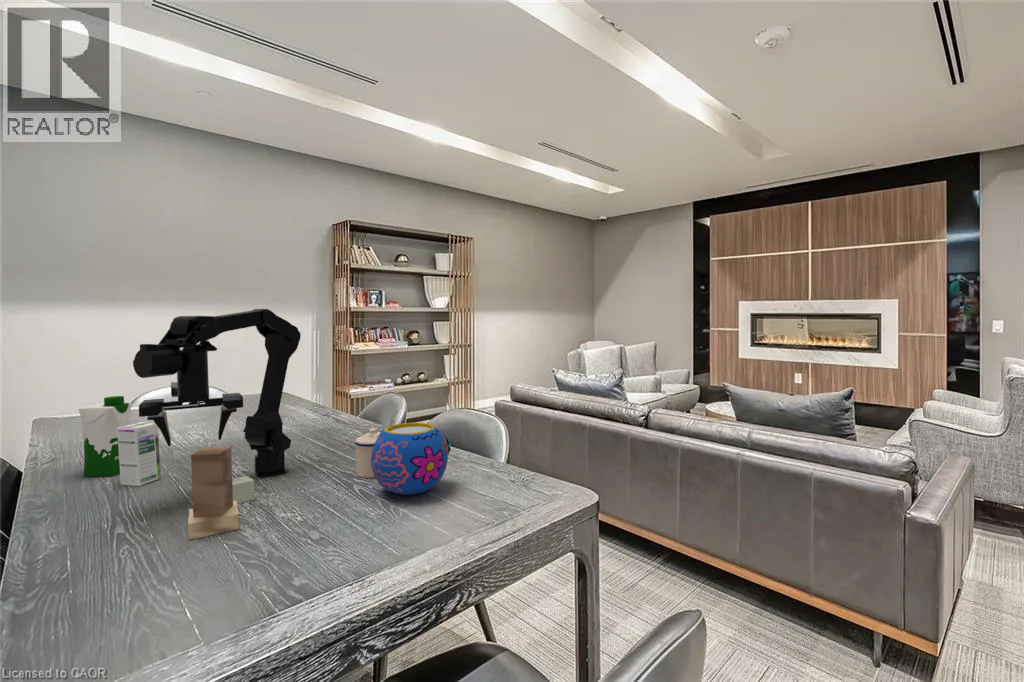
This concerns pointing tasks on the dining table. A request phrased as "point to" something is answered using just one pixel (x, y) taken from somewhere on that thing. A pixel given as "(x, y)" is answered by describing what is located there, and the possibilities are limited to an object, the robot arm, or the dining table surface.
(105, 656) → the dining table surface
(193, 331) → the robot arm
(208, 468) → the walnut block
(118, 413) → the milk carton
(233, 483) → the sage cube
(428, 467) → the ceramic pot
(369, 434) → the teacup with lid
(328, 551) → the dining table surface
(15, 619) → the dining table surface
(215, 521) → the oak slab
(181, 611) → the dining table surface
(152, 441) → the syrup box
